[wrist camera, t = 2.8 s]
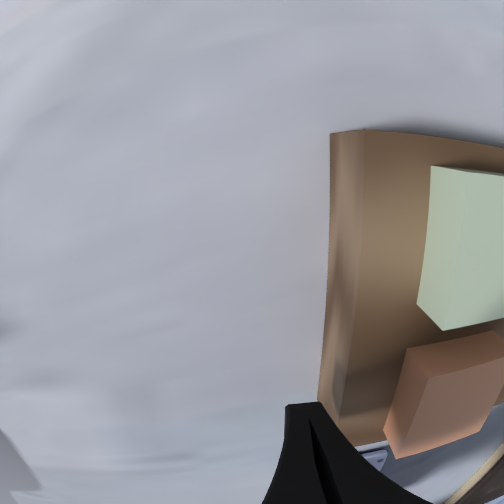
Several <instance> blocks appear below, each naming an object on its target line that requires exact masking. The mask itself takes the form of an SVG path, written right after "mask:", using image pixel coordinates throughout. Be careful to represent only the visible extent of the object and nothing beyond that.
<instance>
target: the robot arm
mask: <svg viewBox="0 0 504 504" xmlns="http://www.w3.org/2000/svg"><path fill="white" fill-rule="evenodd" d="M387 456H388V453H387V451H386V450H379V451H375V452H370V453H365V454H360V453H359V452H358V451H357V450H356V449H355V448H354V446H353V445H352V444H351V443H350V442H349V441H348V439H347V438H346V437H345V436H344V435H343V433H342V432H341V431H340V430H339V428H338V427H337V426H336V424H335V423H334V421H333V420H332V419H331V417H330V416H329V414H328V413H327V411H326V409H325V408H324V406H323V404H322V403H321V402H310V403H300V404H288V405H287V406H286V407H285V428H284V443H283V448H282V451H281V455H280V459H279V462H278V466H277V469H276V472H275V474H274V477H273V480H272V482H271V485H270V487H269V489H268V491H267V494H266V496H265V498H264V500H263V502H262V504H433V503H430V502H428V501H426V500H424V499H422V498H420V497H418V496H416V495H414V494H412V493H411V492H409V491H407V490H405V489H404V488H402V487H401V486H399V485H398V484H396V483H395V482H393V481H392V480H390V479H389V478H387V477H386V476H385V475H384V474H382V473H381V472H380V471H381V469H382V467H383V465H384V463H385V460H386V458H387Z"/></svg>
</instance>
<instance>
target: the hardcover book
mask: <svg viewBox="0 0 504 504" xmlns="http://www.w3.org/2000/svg"><path fill="white" fill-rule="evenodd" d="M503 495H504V442H503V443H502V444H501V445H500V446H499V448H498V449H497V450H496V451H495V452H494V453H493V455H492V456H491V457H490V458H489V459H488V460H487V461H486V462H485V463H484V465H483V466H482V467H481V468H480V469H479V470H478V471H477V472H476V473H475V474H474V475H473V476H472V477H471V478H470V479H469V480H468V481H467V482H466V483H465V484H464V485H463V486H462V487H461V488H460V489H459V490H458V491H457V492H456V493H455V494H454V495H452V496H451V497H450V498H449V499H448V500H447V501H446V502H445V503H444V504H484V503H487V502H489V501H491V500H494V499H496V498H498V497H500V496H503Z"/></svg>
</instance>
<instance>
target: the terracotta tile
mask: <svg viewBox="0 0 504 504" xmlns="http://www.w3.org/2000/svg"><path fill="white" fill-rule="evenodd" d="M503 385H504V339H503V338H502V337H501V336H499V335H498V334H497V333H496V332H495V331H494V330H491V331H487V332H483V333H479V334H475V335H471V336H467V337H462V338H458V339H453V340H448V341H443V342H438V343H433V344H428V345H423V346H417V347H412V348H407V350H406V354H405V358H404V362H403V366H402V370H401V374H400V377H399V381H398V384H397V388H396V391H395V395H394V398H393V401H392V404H391V407H390V411H389V414H388V417H387V420H386V423H385V426H384V428H383V431H384V433H385V435H386V438H387V440H388V442H389V445H390V447H391V449H392V452H393V454H394V456H395V459H400V458H403V457H407V456H410V455H414V454H417V453H421V452H424V451H427V450H430V449H433V448H436V447H439V446H442V445H445V444H448V443H451V442H454V441H456V440H459V439H462V438H464V437H467V436H469V435H472V434H474V433H477V432H479V431H480V430H481V428H482V426H483V424H484V422H485V421H486V419H487V417H488V415H489V413H490V411H491V409H492V407H493V405H494V404H495V402H496V400H497V398H498V395H499V393H500V391H501V389H502V387H503Z"/></svg>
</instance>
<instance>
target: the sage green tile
mask: <svg viewBox="0 0 504 504" xmlns="http://www.w3.org/2000/svg"><path fill="white" fill-rule="evenodd" d="M417 305H418V306H419V307H420V308H421V309H422V310H423V311H424V312H425V313H426V314H427V315H428V316H429V317H430V318H431V319H432V320H433V321H434V322H435V323H436V324H437V325H438V326H439V327H440V329H441V330H442V331H444V330H449V329H454V328H459V327H464V326H469V325H474V324H479V323H483V322H487V321H492V320H496V319H500V318H504V174H502V173H495V172H487V171H479V170H471V169H461V168H452V167H441V166H431V178H430V198H429V212H428V224H427V234H426V243H425V252H424V260H423V267H422V274H421V280H420V286H419V292H418V298H417Z"/></svg>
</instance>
